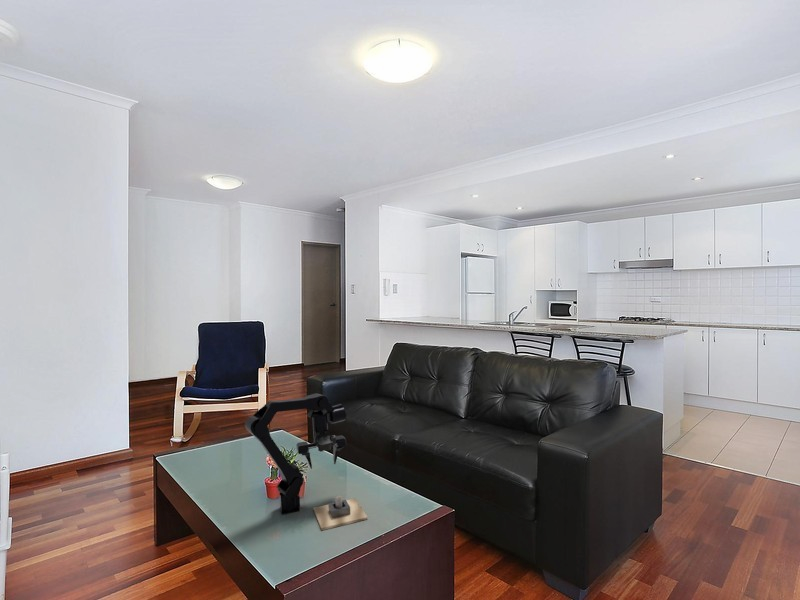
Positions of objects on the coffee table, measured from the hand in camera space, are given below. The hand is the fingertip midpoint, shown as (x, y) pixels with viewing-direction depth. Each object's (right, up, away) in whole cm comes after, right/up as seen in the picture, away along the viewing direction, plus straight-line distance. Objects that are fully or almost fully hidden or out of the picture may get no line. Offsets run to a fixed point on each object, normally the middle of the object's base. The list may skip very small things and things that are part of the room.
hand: (323, 466), depth 175 cm
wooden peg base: (+9, -12, -15) cm, 21 cm away
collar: (+8, -11, -15) cm, 20 cm away
